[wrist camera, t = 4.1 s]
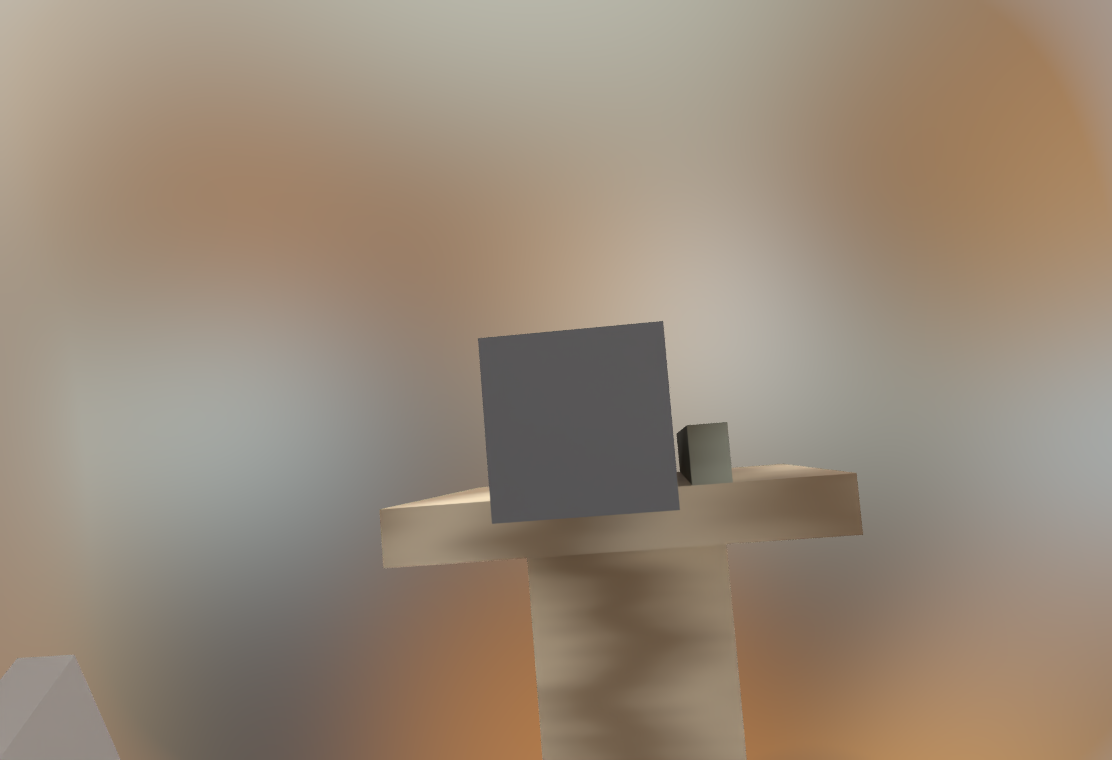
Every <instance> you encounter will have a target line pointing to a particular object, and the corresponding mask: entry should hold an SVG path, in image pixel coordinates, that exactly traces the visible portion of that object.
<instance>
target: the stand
mask: <svg viewBox="0 0 1112 760" xmlns="http://www.w3.org/2000/svg"><path fill="white" fill-rule="evenodd" d="M677 443H678V454H679V465H680V472H677V483H678V494H679V505H680V510H673V511H660V512H646V513H633V514H619V515H606V516H592V517H579V518H565V519H552V520H538V521H524V522H511V523H497V524H492V518H491V505H490V491H489V487H480V488H475V489H471V490H466V491H461V492H458V493H453V494H448V495H444V496H439V497H435V498H430V499H425V500H421V501H416V502H411V503H407V504H402V505H398V506H393V507H389V508H384V509H380V523H381V539H382V554H383V568H395V567H408V566H424V565H438V564H452V563H466V562H480V561H494V560H509V559H523V558H527V562H528V575H529V587H530V601H531V614H532V627H533V639H534V653H535V665H536V678H537V692H538V703H539V704H538V705H539V717H540V731H541V743H542V756H543V760H746V748H745V738H744V727H743V716H742V706H741V695H740V684H739V674H738V663H737V652H736V641H735V630H734V621H733V609H732V599H731V588H730V577H729V567H728V555H727V545H726V544H736V543H751V542H765V541H780V540H794V539H808V538H823V537H836V536H851V535H863V530H862V521H861V511H860V502H859V492H858V482H857V474H856V473H852V472H844V471H836V470H829V469H821V468H813V467H804V466H796V465H789V464H775V465H762V466H750V467H737V468H731V458H730V448H729V437H728V426H727V422H723V423H711V424H699V425H687V426H686V427H684V428H683V429H682V430H681V431H679V432H678V433H677Z"/></svg>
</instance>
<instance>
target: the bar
mask: <svg viewBox="0 0 1112 760" xmlns="http://www.w3.org/2000/svg"><path fill="white" fill-rule="evenodd" d="M478 343H479V357H480V370H481V384H482V397H483V410H484V423H485V437H486V451H487V465H488V477H489V491H490V505H491V518H492V524H497V523H511V522H524V521H538V520H552V519H565V518H579V517H592V516H606V515H619V514H633V513H646V512H660V511H673V510H680V505H679V494H678V483H677V472H676V461H675V449H674V438H673V427H672V417H671V405H670V394H669V384H668V383H669V382H668V371H667V360H666V349H665V338H664V327H663V321H659V322H649V323H638V324H627V325H617V326H606V327H596V328H584V329H574V330H563V331H553V332H542V333H531V334H520V335H510V336H499V337H488V338H479V339H478Z"/></svg>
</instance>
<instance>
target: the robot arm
mask: <svg viewBox="0 0 1112 760" xmlns="http://www.w3.org/2000/svg"><path fill="white" fill-rule="evenodd" d="M0 760H120V758H119V755H118V753H117V751H116V748H115V746H114V744H113V742H112V739H111V737H110V735H109V733H108V730H107V728H106V726H105V724H104V721H103V719H102V717H101V714H100V712H99V710H98V707H97V705H96V703H95V701H94V699H93V696H92V694H91V691H90V690H89V687H88V685H87V682H86V680H85V678H84V675H83V673H82V671H81V669H80V666H79V664H78V662H77V660H76V657H75V655H64V656H47V657H32V658H31V657H30V658H17V659H16V661H15V662H14V663H13V664H12V666H11V667H10V668H9V669H8V671H7V672H6V673H5V674H4V676H3V677H2V678H1V680H0Z"/></svg>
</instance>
